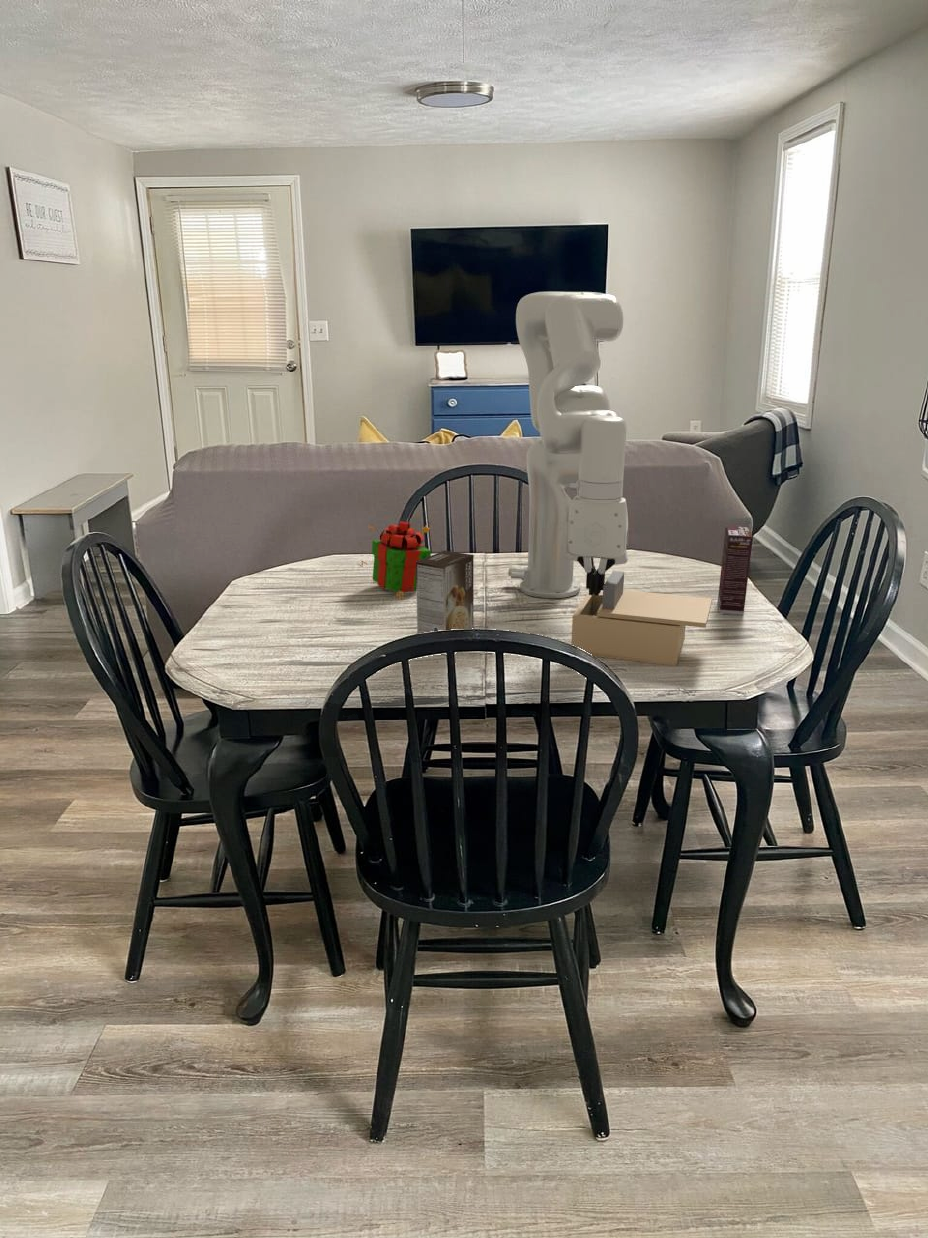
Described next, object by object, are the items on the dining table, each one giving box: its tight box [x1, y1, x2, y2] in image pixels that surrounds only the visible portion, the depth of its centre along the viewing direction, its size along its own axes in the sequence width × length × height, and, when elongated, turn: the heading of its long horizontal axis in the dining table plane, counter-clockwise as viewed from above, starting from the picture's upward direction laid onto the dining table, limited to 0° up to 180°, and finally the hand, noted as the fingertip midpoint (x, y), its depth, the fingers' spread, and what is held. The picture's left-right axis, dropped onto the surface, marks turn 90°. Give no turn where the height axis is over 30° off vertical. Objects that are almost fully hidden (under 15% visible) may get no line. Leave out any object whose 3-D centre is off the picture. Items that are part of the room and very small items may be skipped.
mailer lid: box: [597, 570, 713, 629], centre depth 160 cm, size 18×14×5 cm
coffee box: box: [415, 550, 475, 634], centre depth 162 cm, size 9×6×16 cm
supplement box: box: [717, 525, 754, 616], centre depth 183 cm, size 9×5×16 cm, turn 168°
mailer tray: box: [570, 591, 687, 667], centre depth 164 cm, size 18×14×7 cm
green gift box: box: [357, 521, 432, 599], centre depth 197 cm, size 20×19×14 cm
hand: (594, 593), depth 164 cm, fingers closed
